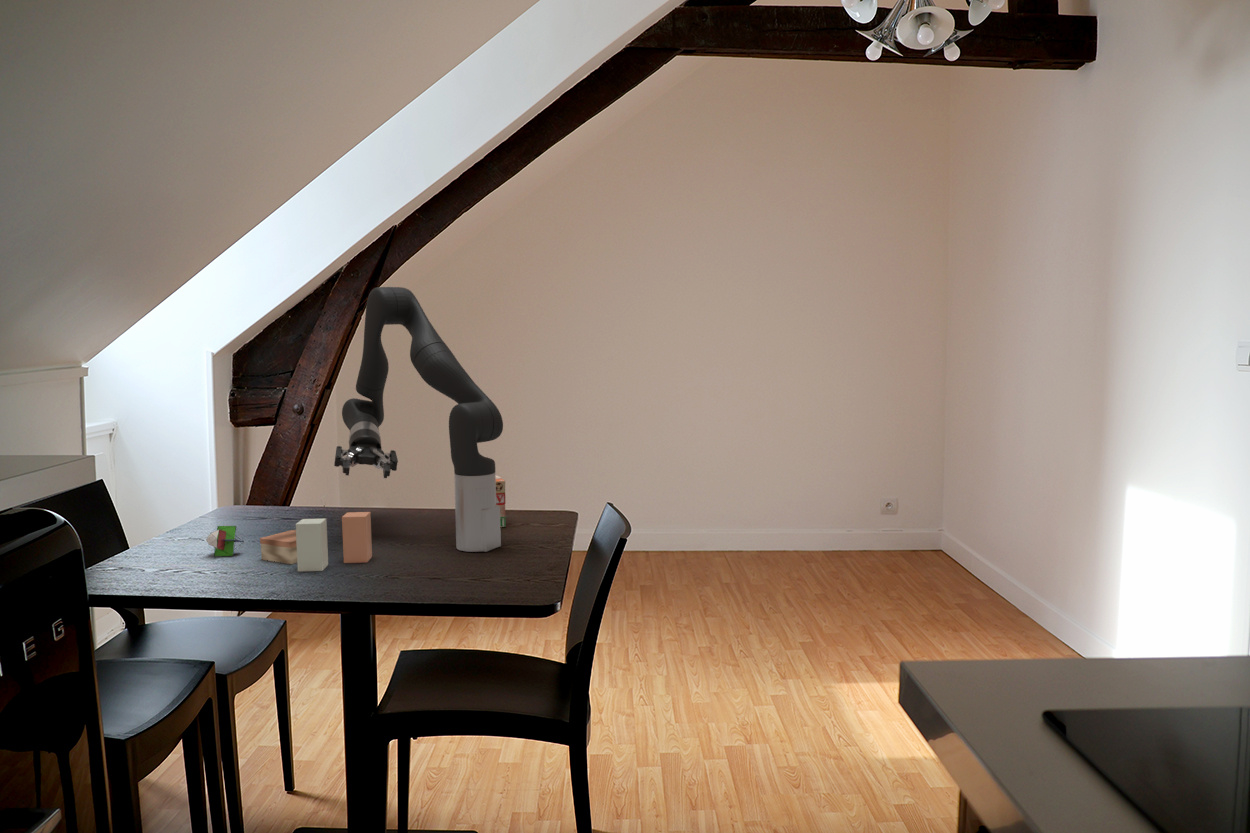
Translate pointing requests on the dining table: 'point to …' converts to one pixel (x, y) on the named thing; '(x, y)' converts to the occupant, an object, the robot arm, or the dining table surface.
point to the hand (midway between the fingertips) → (366, 473)
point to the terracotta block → (356, 537)
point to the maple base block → (280, 547)
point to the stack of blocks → (501, 499)
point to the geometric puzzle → (223, 540)
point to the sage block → (312, 544)
